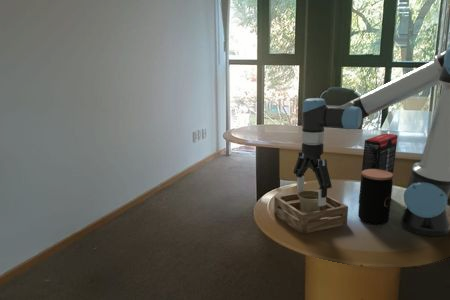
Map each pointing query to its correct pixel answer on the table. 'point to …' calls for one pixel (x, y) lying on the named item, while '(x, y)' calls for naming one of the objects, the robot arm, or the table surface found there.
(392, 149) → the graphics card box
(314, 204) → the flower pot
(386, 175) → the coffee jar
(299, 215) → the crate
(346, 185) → the table surface
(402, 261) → the table surface
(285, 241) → the table surface
